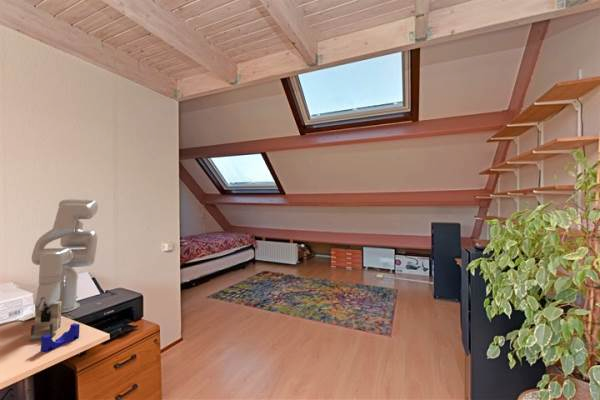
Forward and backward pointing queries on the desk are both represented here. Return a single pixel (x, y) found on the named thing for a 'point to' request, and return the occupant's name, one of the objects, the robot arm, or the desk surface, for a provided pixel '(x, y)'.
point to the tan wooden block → (54, 317)
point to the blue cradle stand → (59, 339)
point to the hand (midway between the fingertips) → (48, 319)
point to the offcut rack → (41, 332)
